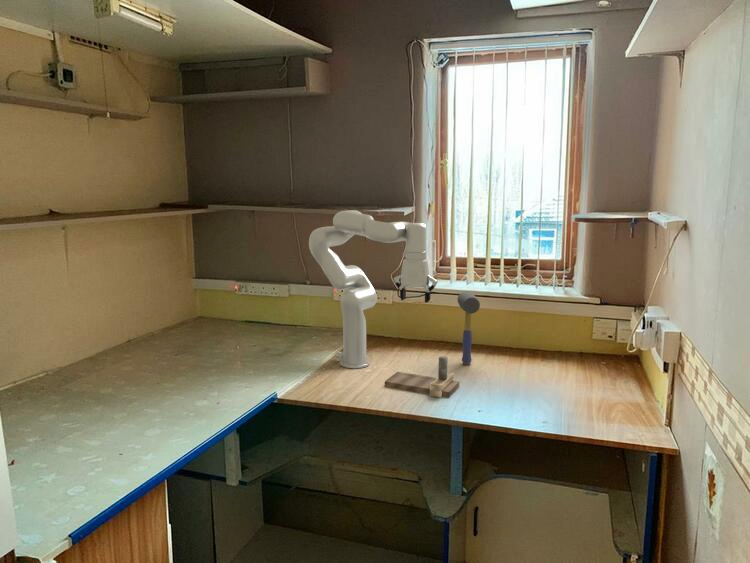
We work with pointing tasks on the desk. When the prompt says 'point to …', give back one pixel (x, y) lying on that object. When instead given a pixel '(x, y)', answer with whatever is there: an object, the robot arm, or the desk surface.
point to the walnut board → (418, 383)
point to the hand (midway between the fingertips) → (415, 300)
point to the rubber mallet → (468, 322)
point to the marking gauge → (441, 378)
